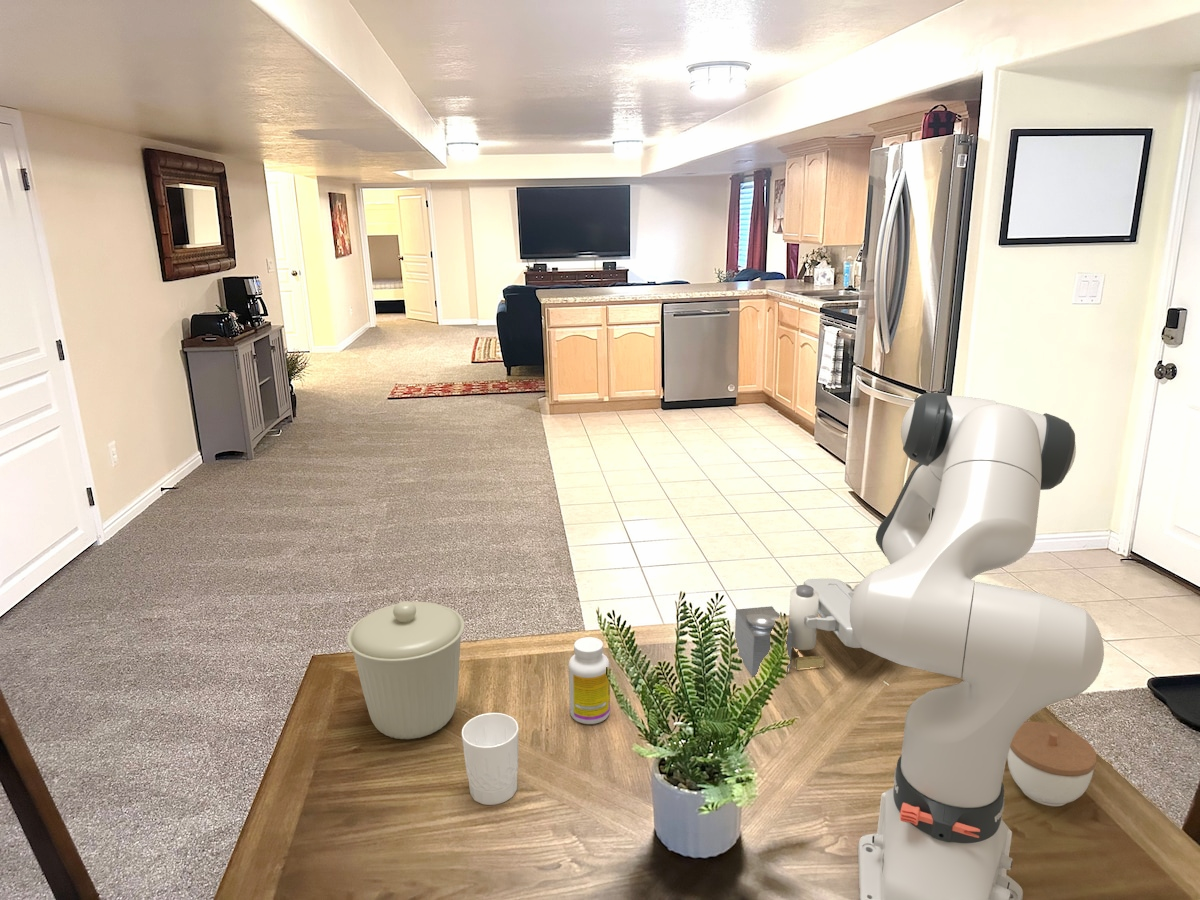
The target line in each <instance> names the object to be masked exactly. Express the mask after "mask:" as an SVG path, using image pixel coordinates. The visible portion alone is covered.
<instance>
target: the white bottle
mask: <svg viewBox="0 0 1200 900" xmlns="http://www.w3.org/2000/svg"><path fill="white" fill-rule="evenodd" d="M789 597H790V598H789V612H788V627H789V629H790V630H791V632H792V647H793V648H795V649H799V650H800V651H809V650H812V649H814V648H815V647H816V645H817V628H812V629H808V628H807V627H806V625H805V624H804V618H805V616H812V615H814V616H815V617H818V615H819V614H818V603H819V593H818V592H817V591H815V590H814V589H813V588H812V587H811V586H808V585H803V584H800V585H797V586H796V587H795V588H792V589H791V591H790V595H789ZM790 617H792V618H790ZM818 618H819V617H818Z"/></svg>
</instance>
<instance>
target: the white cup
mask: <svg viewBox="0 0 1200 900" xmlns="http://www.w3.org/2000/svg"><path fill="white" fill-rule="evenodd" d="M461 741H462V746H463V747H462V748H463V756H464V762H465V763H464V764H465V769H466V775H467V779H468V785H469V786H468V787H469V793H470V796H471V797H472V798H473V800H474V801H475V802H477V803H480V804H482V805H487V806H496V805H499V804H503V803H505V802H507V801H508V800H510V799H511V798H512V797H514V795H515V793H516V792H517V790H518V771H519V724H518V722H517V720H516V719H515V718H513V717H512V716H510V715H509V714H506V713H501V712H486V713H483V714H479V715H477V716H474V717H471V719H469V720H467V722H466V723H464V725H463V726H462V729H461Z"/></svg>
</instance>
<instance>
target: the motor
mask: <svg viewBox="0 0 1200 900" xmlns="http://www.w3.org/2000/svg"><path fill="white" fill-rule="evenodd" d="M779 616H781V615H780V613H779V612H778V611H776V609H774V606H773V605H771V606H761V607H749V608H739V609H738V608H737V609H735V626H734V639H735V638H736V643H737V647H738V649H739V654H738V657H739V658H740V657H741V658H742V659H743V661H742V663H743V664H744V666H745V668H746V669H747V672H748V673H749V674H750V676H751V675H752V676H751V677H752V678H753V676H755V675H756V674H757V672H758V669H759V666H760V663H761V662H762V660H763V658H764V657H765V656H766V655H767V654H768V652H769V650H770V633H771V631H772V629H773V627H774V625H775V619H778V618H779ZM786 644H787V650H788V655H789V657H790V660H791V659H792V632H791V630H790V629H789V628H788V635H787V641H786ZM796 653H797V654H798V651H797V652H796ZM796 653H795V654H796ZM797 654H796V655H797ZM741 658H740V659H741ZM742 659H741V660H742ZM794 659H795V660H794V668H795V667H796V669H800V668H810V667H820V666H821V667H822V666H823V668H824V664H825V657H824V656H823V655H822V654H820V655H811V656H804V657H795V658H794ZM791 661H792V660H791ZM791 661H790V664H789V665H788V666H787V673H786V674H789V673H788V668H789V672H790V673H791V663H792V662H791ZM796 669H795V670H796ZM755 677H756V676H755Z"/></svg>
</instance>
